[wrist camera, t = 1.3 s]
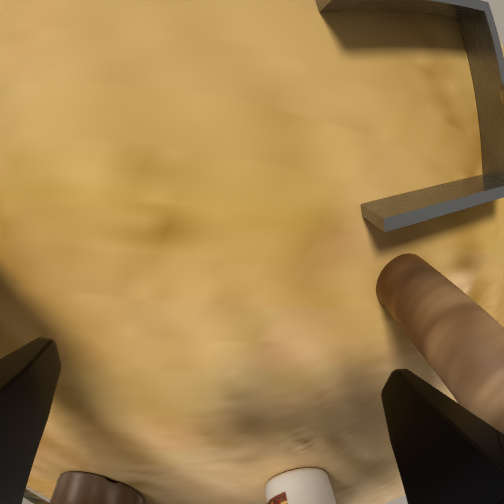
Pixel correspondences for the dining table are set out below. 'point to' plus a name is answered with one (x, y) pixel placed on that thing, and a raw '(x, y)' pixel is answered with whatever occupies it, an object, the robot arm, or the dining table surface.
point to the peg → (448, 333)
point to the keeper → (488, 104)
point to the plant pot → (92, 490)
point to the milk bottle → (300, 487)
